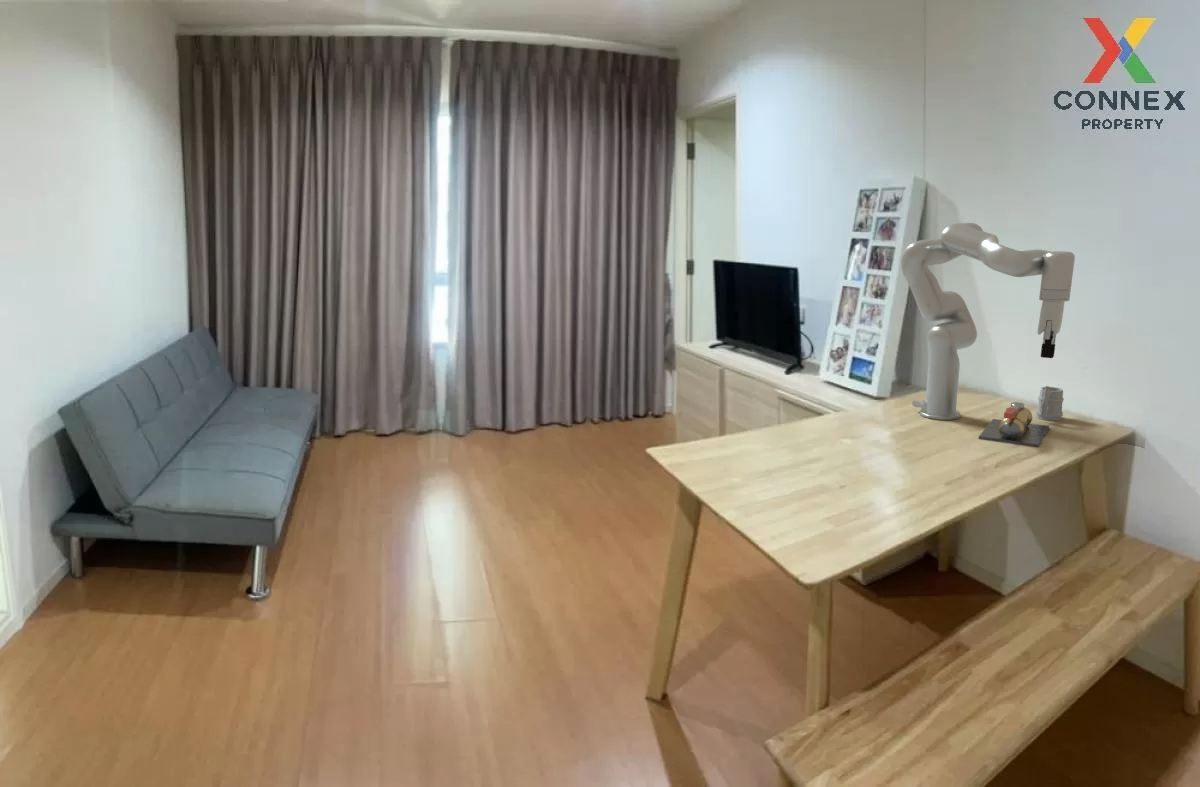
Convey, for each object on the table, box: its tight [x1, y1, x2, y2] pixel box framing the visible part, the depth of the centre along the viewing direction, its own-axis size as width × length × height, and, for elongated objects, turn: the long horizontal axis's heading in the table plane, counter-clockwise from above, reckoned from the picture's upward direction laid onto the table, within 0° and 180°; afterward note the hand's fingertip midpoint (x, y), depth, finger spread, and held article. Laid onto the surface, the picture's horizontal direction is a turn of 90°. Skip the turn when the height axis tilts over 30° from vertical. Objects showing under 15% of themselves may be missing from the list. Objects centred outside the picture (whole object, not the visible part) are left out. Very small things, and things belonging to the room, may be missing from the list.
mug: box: [1035, 385, 1064, 422], centre depth 241 cm, size 8×12×12 cm, turn 136°
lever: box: [1003, 401, 1025, 419], centre depth 223 cm, size 15×4×2 cm, turn 140°
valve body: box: [978, 406, 1050, 448], centre depth 228 cm, size 16×22×8 cm
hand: (1047, 357), depth 218 cm, fingers closed
